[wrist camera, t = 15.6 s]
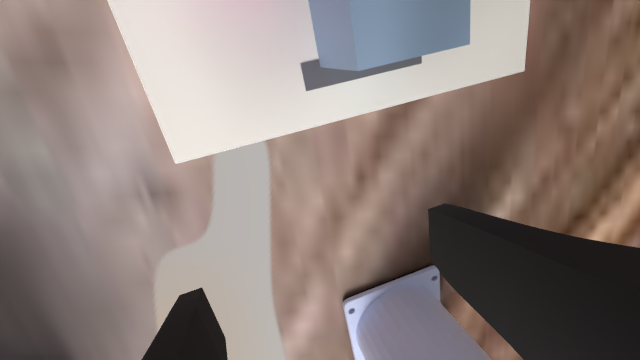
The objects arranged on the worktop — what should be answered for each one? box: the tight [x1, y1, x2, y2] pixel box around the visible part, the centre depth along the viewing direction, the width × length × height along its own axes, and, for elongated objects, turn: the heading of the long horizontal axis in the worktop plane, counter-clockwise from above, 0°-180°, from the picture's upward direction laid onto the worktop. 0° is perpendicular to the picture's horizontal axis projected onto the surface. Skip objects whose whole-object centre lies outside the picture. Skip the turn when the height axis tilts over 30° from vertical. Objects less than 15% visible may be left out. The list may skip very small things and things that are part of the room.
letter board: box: [107, 0, 530, 164], centre depth 16 cm, size 11×22×1 cm, turn 101°
